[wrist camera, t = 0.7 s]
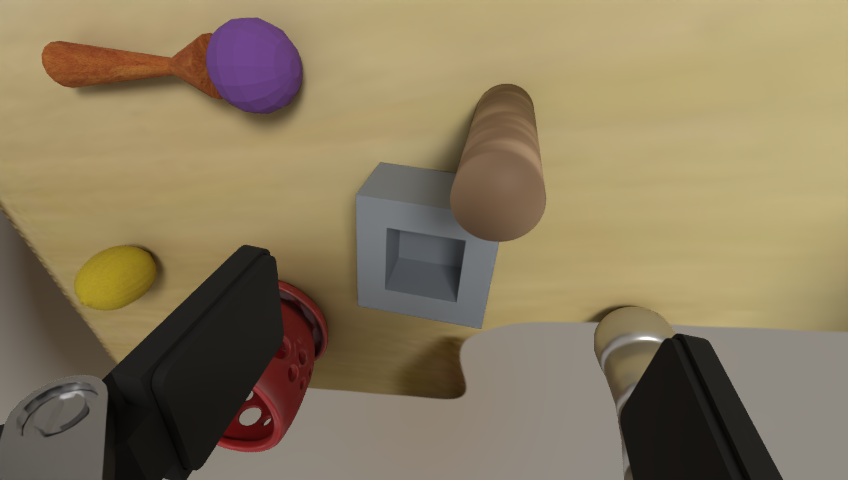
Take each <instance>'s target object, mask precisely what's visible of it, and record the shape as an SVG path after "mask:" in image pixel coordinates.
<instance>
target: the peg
mask: <svg viewBox="0 0 848 480" xmlns="http://www.w3.org/2000/svg"><path fill="white" fill-rule="evenodd" d="M450 205H451V210H452V213H453V215H454V217H455V219H456V221H457V222H458V223H459V225H460V226H461V227H462V228H463V229H464V230H466V231H467V232H468V233H470V234H471V235H473V236H475V237H477V238H480V239H483V240H486V241H493V242H503V241H510V240H514V239H516V238H519V237H521V236H523V235H525V234H526V233H528V232H529V231H531V230H532V229H533V228H534V227H535V226H536V225H537V223H538V222H539V221H540V219H541V217H542V215H543V213H544V210H545V205H546V193H545V185H544V178H543V171H542V164H541V156H540V149H539V142H538V135H537V127H536V120H535V113H534V106H533V102H532V100H531V98H530V96H529V95H528V93H527V92H526V91H525V90H523V89H522V88H521V87H519V86H516V85H512V84H501V85H497V86H494V87H492V88H491V89H489V90H488V91H487V92H486V93H485V94H484V95H483V96H482V97H481V99H480V101H479V103H478V106H477V109H476V112H475V115H474V118H473V122H472V125H471V128H470V131H469V134H468V138H467V141H466V144H465V147H464V150H463V153H462V157H461V160H460V163H459V166H458V169H457V173H456V176H455V179H454V182H453V185H452V189H451V193H450Z"/></svg>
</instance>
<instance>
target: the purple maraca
mask: <svg viewBox="0 0 848 480" xmlns="http://www.w3.org/2000/svg"><path fill="white" fill-rule="evenodd" d="M42 64H43V66H44V68H45V70H46V72H47V74H48V75H49V76H50V77H51V78H52V79H53V80H54V81H55V82H57V83H59V84H60V85H62V86H66V87H71V88H74V87H82V86H90V85H98V84H106V83H113V82H121V81H129V80H137V79H145V78H153V77H160V76H168V75H176V76H178V77H179V78H181V79H183V80H184V81H186V82H188V83H189V84H191V85H193V86H194V87H196V88H198V89H199V90H201V91H203V92H204V93H206V94H207V95H209V96H211V97H214V98H218V99H222V98H224V99H225V100H226V101H228V102H229V103H230V104H232V105H234V106H235V107H237V108H239V109H241V110H243V111H247V112H252V113H264V114H269V113H271V112H273V111H275V110H278V109H280V108H282V107H284V106H286V105H288V104H290V102H291V101H292V99H293V98H294V96H295V94H296V93H297V91H298V90H299V88H300V86H301V82H302V63H301V58H300V56H299V53H298V51H297V49H296V47H295V46H294V45H293V43H292V42H291V41H290V40H289V38H288V37H287V36H286V34H285V33H284V32H283V31H282V30H281V29H279V28H277V27H275V26H274V25H272V24H270V23H268V22H266V21H264V20H261V19H259V18H239V19H231V20H229V21H228V22H227V23H225V24H224V25H222V26H221V27H219V28H218V29H217V30H216V31H215V32H214V33H213V34H211V33H207V34H202V35H200V36H199V37H198V38H196V39H195V40H194V41H193V42H191V43H190V44H189V45H187V46H186V47H185V48H184V49H182V50H181V51H180V52H178V53H177V54H176V55H174V56H173V57H172V58H169V57H162V56H156V55H149V54H142V53H136V52H129V51H122V50H116V49H109V48H102V47H96V46H89V45H82V44H76V43H69V42H62V41H56V42H51V43H49V44H48V45H47V46H45V47H44V50H43V53H42Z"/></svg>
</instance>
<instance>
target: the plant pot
mask: <svg viewBox="0 0 848 480" xmlns="http://www.w3.org/2000/svg"><path fill="white" fill-rule="evenodd" d="M278 283H279V292H280V301H281V309H282V318H283V327H284V338H283V342H282V344H281V346H280V348H279V349H278V351H277V352H276V354H275V356H274V357H273V359H272V360H271V362H270V363H269V365H268V366H267V368H266V369H265V371H264V373H263V374H262V376H261V377H260V379H259V380H258V382H257V383H256V385H255V386H254V388H253V389H252V391H253V393H254V394H253V397H252V398H251V399H250V400H248V401H245V402H244V403H243V405H242V406H241V408H240V410H239V411H238V413H237V414H236V416H235V417H234V419H233V420H232V422H231V423H230V425H229V426H228V428H227V430H226V431H225V433H224V434H223V436H222V437H221V439H220V440H219V442H218V443H217V445H218V446H220V447H223V448H227V449H231V450H236V451H242V452H260V451H265V450H268V449H270V448H272V447H274V446H275V445H277V444H278V443H279V442H280V441H281V439H282V438H283V436H284V435H285V433H286V432H287V430H288V428H289V427H290V425H291V424H292V421H293V420H294V418H295V416H296V414H297V412H298V410H299V407H300V405H301V403H302V401H303V398H304V395H305V392H306V390H307V387H308V384H309V382H310V379H311V375H312V371H313V367H314V361H316V360H317V359H318V358H320V357H321V356H322V355H323V353H324V352H325V350H326V347H327V344H328V329H327V324H326V321H325V319H324V317H323V315H322V313H321V311H320V310H319V308H318V307H317V306H316V304H315V303H314V302H313V301H312V300H311V299H310V298H309V297H308V296H307V295H305V294H304V293H303V292H301V291H300V290H298V289H297V288H295V287H293V286H291V285H289V284H287V283H284V282H281V281H278ZM253 407H255V408H259V409H260V410H261V412H262V413H261V417H260V418H259V420H258V421H257V422H256V423H254V424H252V425H249V426H244V425H242V424H240V422H239V417H240V415H241V413H242V412H243V411H245V410H246V409H249V408H253ZM270 418H271V421H270V422H269V423H268V424H267V425H265V426H264V423H265V422H266V420H268V419H270Z"/></svg>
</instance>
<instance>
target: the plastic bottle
mask: <svg viewBox="0 0 848 480" xmlns="http://www.w3.org/2000/svg"><path fill="white" fill-rule="evenodd" d="M675 334H676V333H675V331H674V330H673V329H672V327H671V326H670V325H669V323H668V322H667V321H666V320H665V319H664V318H663V317H662V316H661V315H659V314H658V313H656V312H653V311H651V310H648V309H645V308H641V307H624V308H619V309H617V310H614V311H612V312H610V313H609V314H607V315H606V316H605V317H604V318H603V319H602V321H601V322H600V323H599V324H598V326H597V328H596V331H595V335H594V351H595V353H596V357H597V359H598V361H599V364H600V367H601V369H602V371H603V373H604V374H605V376H606V378H607V381H608V384H609V387H610V390H611V393H612V396H613V399H614V402H615V405H616V411H617V416H618V423H619V429H620V435H621V440H622V454H623V468H624V480H633V477H632V472H631V468H630V464H629V459H628V455H627V451H626V447H625V442H624V438H623V434H622V429H621V425H620V414H621V410H622V408H623V406H624V405H625V403H626V402H627V400H628V398H629V397H630V395H631V393H632V392H633V390H634V388H635V387H636V385H637V383H638V382H639V380H640V378H641V377H642V375H643V373H644V372H645V370H646V368H647V367H648V365H649V363H650V362H651V360H652V358H653V357H654V355H655V353H656V352H657V350H658V348H659V347H660V345H661V343H662V342H663V341H664V339H666V338H672V337H673V335H675Z"/></svg>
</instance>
